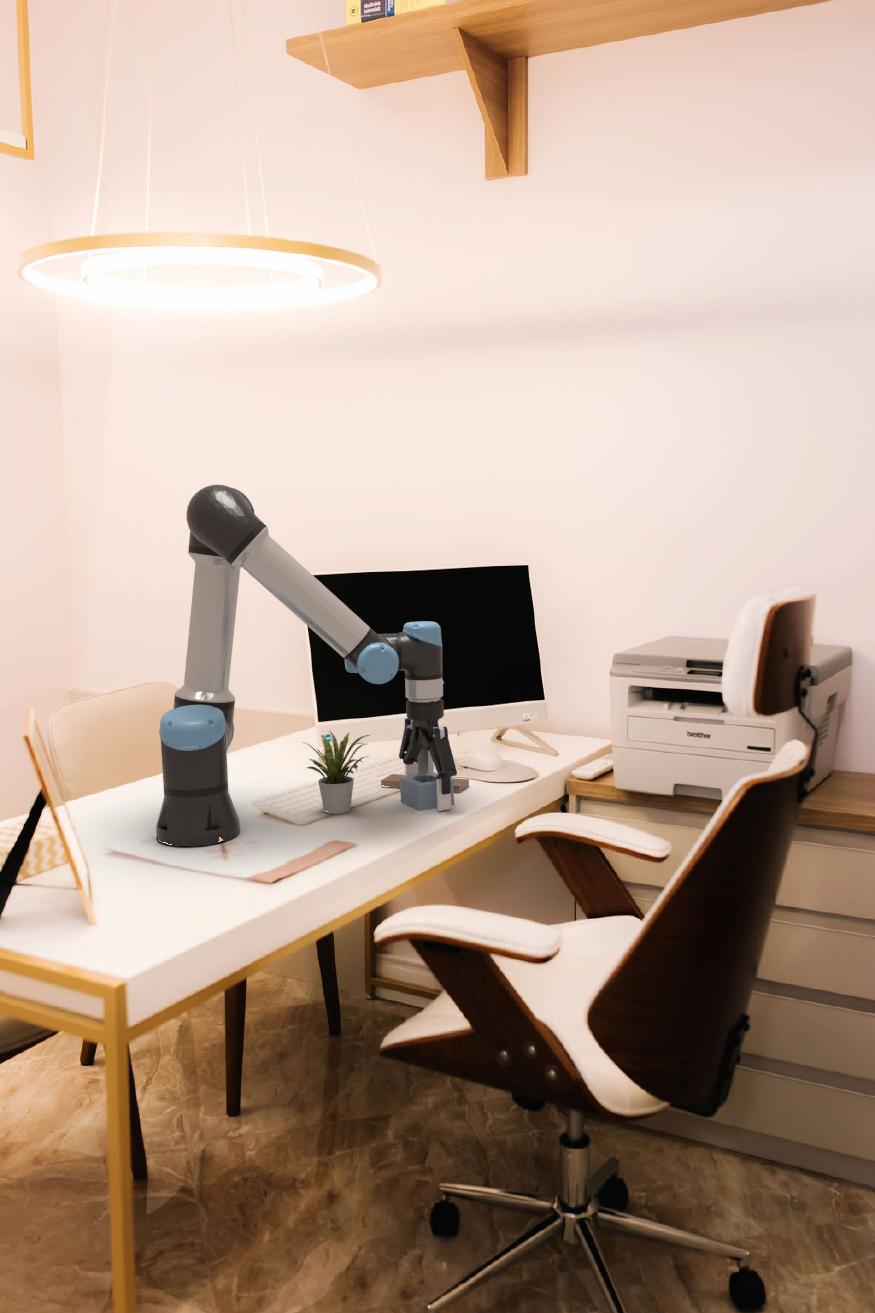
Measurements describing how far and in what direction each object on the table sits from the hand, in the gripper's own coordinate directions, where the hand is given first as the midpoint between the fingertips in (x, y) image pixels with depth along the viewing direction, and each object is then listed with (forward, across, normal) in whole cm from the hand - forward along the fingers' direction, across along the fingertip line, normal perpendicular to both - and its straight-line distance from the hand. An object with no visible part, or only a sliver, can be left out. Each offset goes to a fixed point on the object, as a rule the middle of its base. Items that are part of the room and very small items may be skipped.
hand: (428, 802), depth 212 cm
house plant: (0, +4, +17) cm, 17 cm away
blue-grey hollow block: (0, 0, 0) cm, 0 cm away
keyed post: (0, +12, -6) cm, 13 cm away
